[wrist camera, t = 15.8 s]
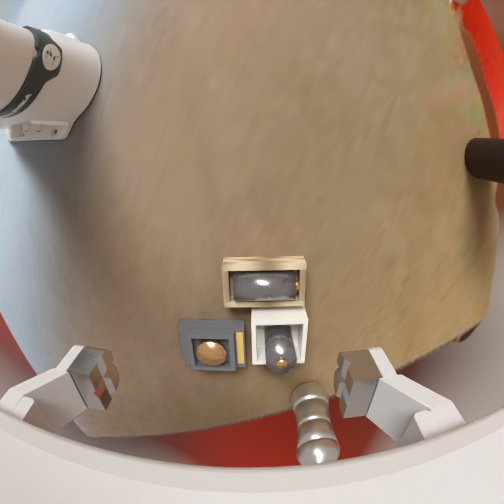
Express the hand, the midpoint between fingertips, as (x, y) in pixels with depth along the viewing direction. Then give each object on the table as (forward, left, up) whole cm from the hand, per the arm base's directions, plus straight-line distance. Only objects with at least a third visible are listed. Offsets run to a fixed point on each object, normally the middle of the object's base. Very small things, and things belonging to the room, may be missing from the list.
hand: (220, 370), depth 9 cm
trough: (+2, -10, -31) cm, 32 cm away
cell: (+4, -18, -30) cm, 35 cm away
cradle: (-6, -21, -31) cm, 37 cm away
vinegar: (+38, +9, -31) cm, 50 cm away
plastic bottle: (+10, -33, -31) cm, 46 cm away
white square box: (+4, -18, -31) cm, 36 cm away
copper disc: (-6, -21, -28) cm, 35 cm away
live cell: (+2, -10, -31) cm, 32 cm away
